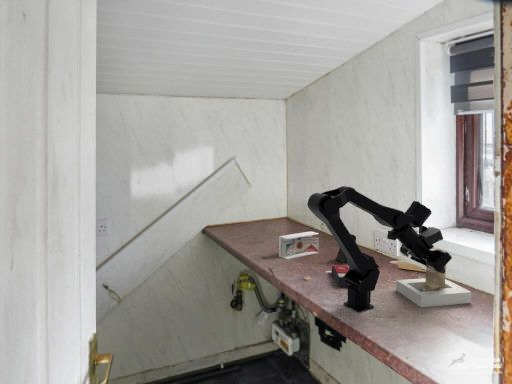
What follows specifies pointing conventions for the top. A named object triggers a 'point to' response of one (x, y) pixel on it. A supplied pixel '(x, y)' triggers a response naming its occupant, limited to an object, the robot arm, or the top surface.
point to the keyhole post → (434, 278)
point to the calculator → (340, 274)
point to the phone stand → (341, 256)
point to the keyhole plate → (433, 293)
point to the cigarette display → (298, 245)
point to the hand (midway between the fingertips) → (439, 270)
